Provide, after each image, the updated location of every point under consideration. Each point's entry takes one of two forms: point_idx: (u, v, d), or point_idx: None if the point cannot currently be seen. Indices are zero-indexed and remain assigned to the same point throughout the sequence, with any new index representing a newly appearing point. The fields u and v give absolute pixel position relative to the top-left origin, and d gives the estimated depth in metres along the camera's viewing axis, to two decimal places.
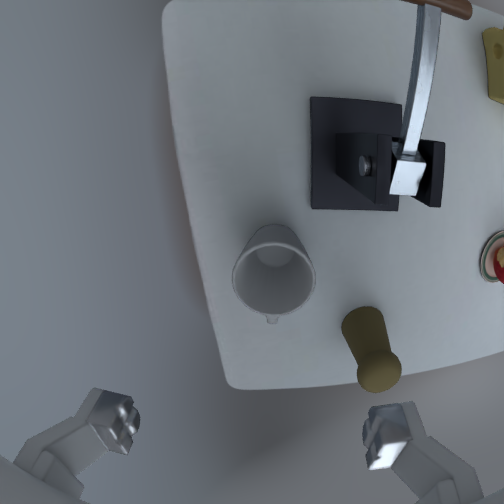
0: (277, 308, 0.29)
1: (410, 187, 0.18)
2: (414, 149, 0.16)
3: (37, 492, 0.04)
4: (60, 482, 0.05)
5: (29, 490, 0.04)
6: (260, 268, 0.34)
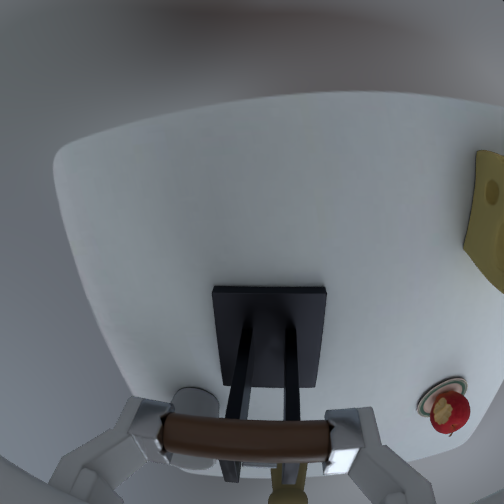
0: (191, 463, 0.28)
1: None
2: None
3: (37, 492, 0.04)
4: (102, 500, 0.05)
5: (29, 490, 0.04)
6: None
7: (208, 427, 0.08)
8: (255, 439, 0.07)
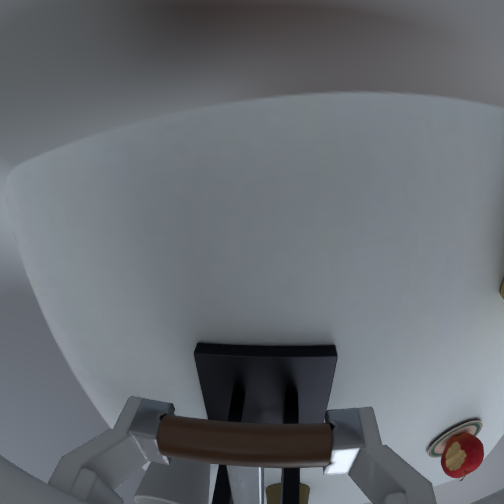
0: None
1: None
2: None
3: (37, 492, 0.04)
4: (102, 500, 0.05)
5: (29, 490, 0.04)
6: None
7: (207, 422, 0.08)
8: (255, 430, 0.07)
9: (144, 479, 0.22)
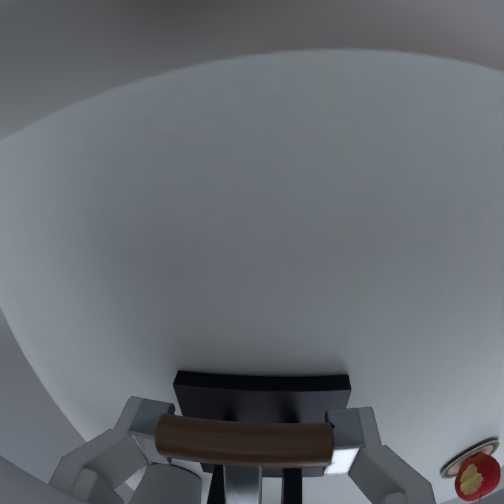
0: None
1: None
2: None
3: (37, 492, 0.04)
4: (103, 500, 0.05)
5: (29, 490, 0.04)
6: None
7: (208, 419, 0.08)
8: (256, 425, 0.07)
9: None
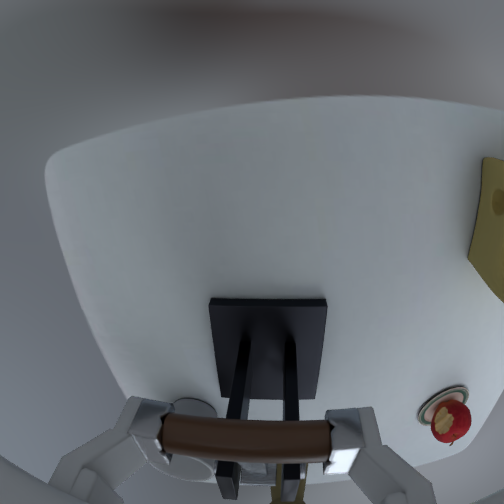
0: (189, 474, 0.27)
1: None
2: (263, 474, 0.14)
3: (37, 492, 0.04)
4: (102, 500, 0.05)
5: (29, 490, 0.04)
6: None
7: (208, 425, 0.08)
8: (256, 437, 0.07)
9: None
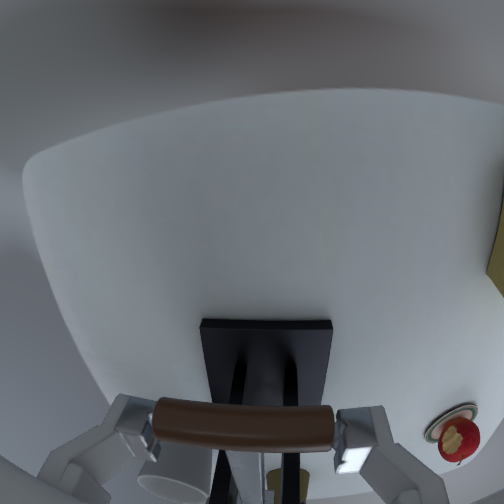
0: (183, 497, 0.24)
1: None
2: None
3: (37, 492, 0.04)
4: (89, 495, 0.05)
5: (29, 490, 0.04)
6: None
7: (203, 406, 0.08)
8: (253, 416, 0.07)
9: None
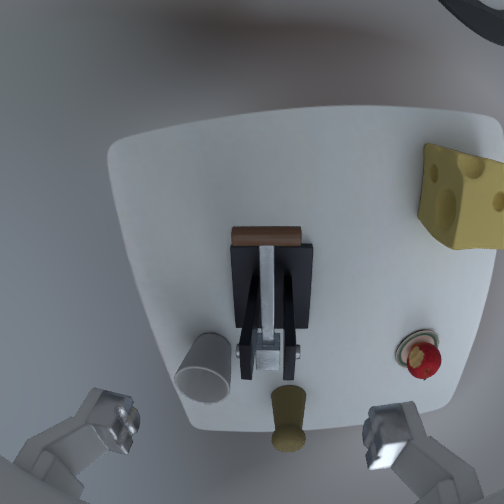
0: (208, 398, 0.39)
1: (272, 365, 0.27)
2: (271, 341, 0.26)
3: (37, 492, 0.04)
4: (60, 482, 0.05)
5: (29, 490, 0.04)
6: None
7: (251, 226, 0.22)
8: (271, 226, 0.22)
9: (184, 360, 0.38)
